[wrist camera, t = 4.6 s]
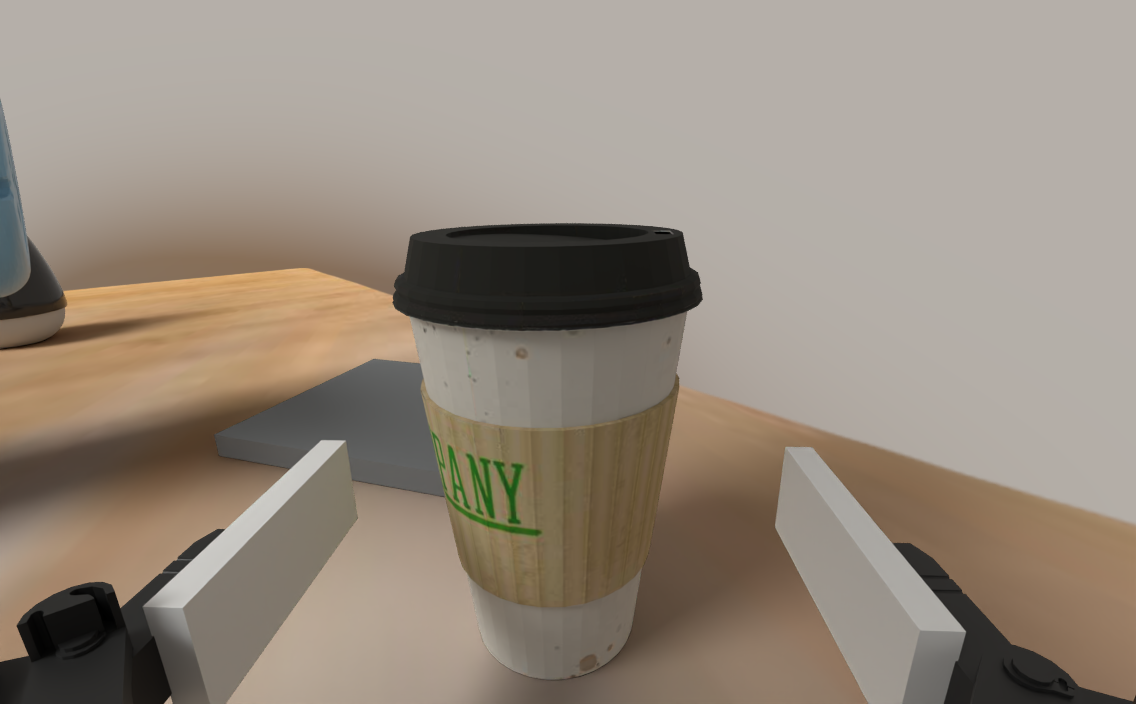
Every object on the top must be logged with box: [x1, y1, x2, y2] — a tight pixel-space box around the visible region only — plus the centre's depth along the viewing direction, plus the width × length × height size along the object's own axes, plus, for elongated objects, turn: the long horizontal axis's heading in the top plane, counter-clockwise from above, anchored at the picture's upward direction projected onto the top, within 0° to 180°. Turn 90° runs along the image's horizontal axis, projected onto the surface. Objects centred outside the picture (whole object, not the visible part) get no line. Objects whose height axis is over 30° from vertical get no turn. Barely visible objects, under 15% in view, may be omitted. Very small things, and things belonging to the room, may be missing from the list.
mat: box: [214, 359, 445, 497], centre depth 38 cm, size 20×16×2 cm
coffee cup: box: [393, 223, 703, 680], centre depth 19 cm, size 10×10×15 cm
